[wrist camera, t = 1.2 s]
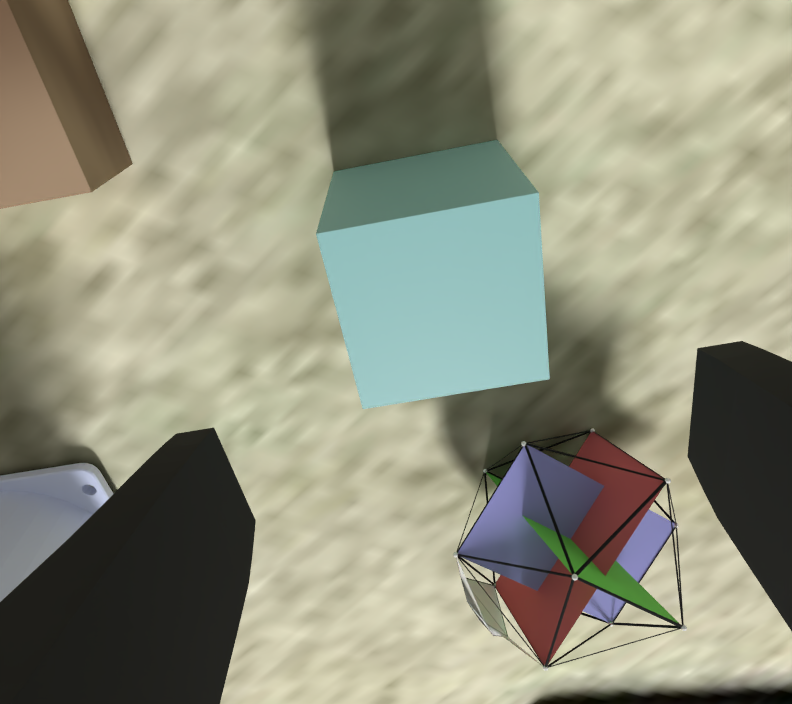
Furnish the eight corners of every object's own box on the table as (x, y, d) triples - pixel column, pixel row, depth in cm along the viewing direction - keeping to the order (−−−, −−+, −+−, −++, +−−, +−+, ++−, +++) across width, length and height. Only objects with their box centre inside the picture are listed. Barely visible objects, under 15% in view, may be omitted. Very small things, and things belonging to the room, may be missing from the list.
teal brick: (510, 288, 18) (549, 379, 14) (367, 313, 19) (362, 409, 14) (496, 139, 16) (538, 192, 12) (333, 170, 16) (316, 233, 12)
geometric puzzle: (595, 359, 17) (534, 656, 14) (753, 456, 19) (734, 737, 16) (460, 405, 23) (395, 617, 20) (590, 475, 25) (551, 678, 22)
